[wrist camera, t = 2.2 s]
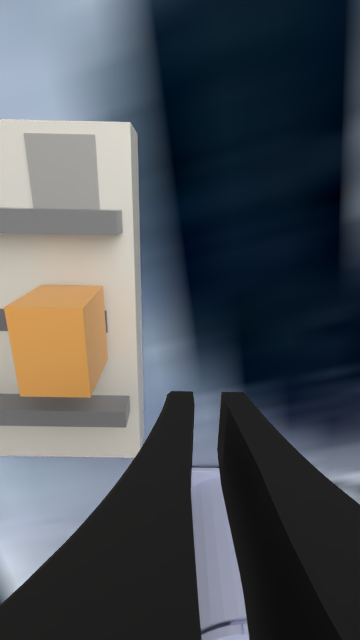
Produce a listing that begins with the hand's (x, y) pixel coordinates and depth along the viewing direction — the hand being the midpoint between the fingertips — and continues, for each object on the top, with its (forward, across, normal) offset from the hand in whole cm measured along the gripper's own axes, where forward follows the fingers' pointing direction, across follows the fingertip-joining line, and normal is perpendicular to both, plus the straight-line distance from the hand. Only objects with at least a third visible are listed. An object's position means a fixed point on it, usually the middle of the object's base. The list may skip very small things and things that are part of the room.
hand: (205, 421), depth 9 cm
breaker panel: (+10, +10, 0) cm, 14 cm away
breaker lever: (+7, +6, 0) cm, 10 cm away
